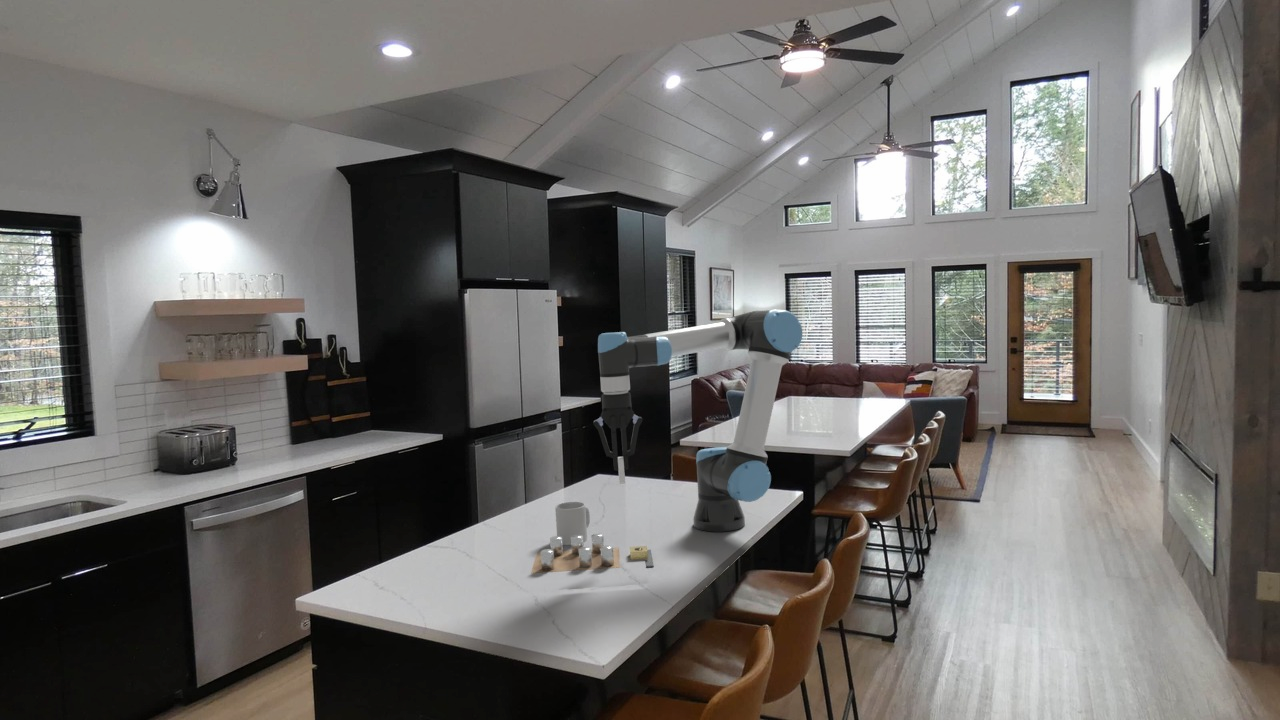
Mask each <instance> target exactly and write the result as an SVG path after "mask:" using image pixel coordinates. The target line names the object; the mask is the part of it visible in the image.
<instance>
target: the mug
mask: <svg viewBox="0 0 1280 720" xmlns="http://www.w3.org/2000/svg"><path fill="white" fill-rule="evenodd" d="M590 521H591V515H590V511H589V508H588V507H587V506H586V504H585V503H584V502H581V501H569V502H568V501H567V502H562V503H559V504H557V505H555V523H556V524H555V525H556V536H561V537H562V544H563V546H571V536H573V535H582V536H583V544H584V543H586V542H588V528H589V525H590Z"/></svg>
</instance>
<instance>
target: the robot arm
mask: <svg viewBox="0 0 1280 720" xmlns="http://www.w3.org/2000/svg"><path fill="white" fill-rule="evenodd" d="M801 324H802V323H801V322H800V321H799V318H798V317H797V316H796V315H795V314H794V313H792V311H789V310H785V309H777V308H776V309H774V308H773V309H772V310H771V309H770V310H768V309H767V310H753V311H748V312H746V313H745V312H744V313H742V314H737V315H735V316H729V317H724V318H721V319H720V321H719V322H713V323H708V324H702V325H701V324H700V325H696V326H688V327H684V328H683V327H682V328H678V329H671V330H670V329H669V330H665V331H658V332H653V333H652V332H651V333H646V334H639V335H638V334H637V335H633V336H627V333H626V332H625V331H619V332H618V331H617V332H616V331H615V332H605V333H603V332H602V333H601V334H599V335H598V338H597V353H598V363H599V374H600V375H599V376H600V377H599V378H600V392H602V394H601V405H602V406H601V410H602V411H601V413H600V416H599V418H597V419H595V420H593V426H594V427H595V428H596V430H597V431H598V434H599V437H600V440H601V444H602V447H603V450H604V453H605V456H606V457H609V458H611V459H612V462H613V470H614V471H616V472H617V471H618V482H619V483H618V484H619V485H621V484H626V475H625V471H628V470H629V468H630V467H629V457H630V456H633V455H635V453H636V452H635V451H636V446H637V440H638V435H639V434H638V433H639V429H640V426H641V425H642V422H643V418H642V416H638V415H636V414H635V412H634V410H633V408H632V395H631V392H629V391H631V382H630V369H631V368H638V367H639V368H641V367H651V366H657V367H659V366H661V365H662V366H663V365H667V364H668V363H670V361H671V359H672V357H678V356H679V357H680V356H683V355H689V354H691V355H692V354H696V353H697V354H698V353H701V352H709V351H713V350H720V349H724V350H725V351H733V350H747V351H748V352H747V353H748V355H749V357H750V358H751V362H750V366H749V372H748V376H747V381H746V385H745V389H744V394H743V398H742V403H741V407H740V412H739V416H738V421H737V425H736V430H735V434H734V439H733V442H732V443H731V444H729V445H728V446H717V447H708V448H704V449H700V450H698V451H697V453H696V456H695V457H696V458H695V459H696V462H695V464H696V475H697V476H696V477H697V479H696V480H697V494H698V495H697V496H698V497H697V499H698V500H697V504H696V508H695V512H694V514H693V519H692V520H693V527H694V528H696V529H697V530H700V531H706V532H715V533H716V532H720V533H722V532H730V531H735V530H739V529H741V528H744V526H745V525H746V524H745V523H746V520H745V519H746V518H745V515H744V512H743V509H742V507H741V504H740V502H744V503H745V502H746V503H751V502H752V503H753V502H755V501H758V500H759V499H761V498H762V497H764V496H765V495H766V493H767V492H768V490H769V488H770V486H771V483H772V482H771V481H772V475H771V472H770V471H769V470H770V469H769V467H768V465H767V461H768V454H767V452H766V451H765V446H766V445H765V444H766V440H767V437H768V432H769V428H770V423H771V419H772V418H771V417H772V413H773V409H774V405H775V404H774V403H775V399H776V396H777V391H778V386H779V382H780V378H781V377H780V376H781V372H782V368H783V366H784V365H785V364H786V363H789V360H790V357H791V353H792V352H793V351H795V350H796V348H797V349H798V347H799V346H800V345H801V342H802V341H803V340H802V339H803V328H802V325H801ZM632 419H633V420H632ZM631 420H632V423H633V429H632V435H631V441H630V446H629V449H628V441H627V438H628V437H627V427H628V425H629V424H630V422H631ZM603 421H604V422H603ZM604 423H605V424H606V425H607V426H608V428H610V430H611V431H610V433H611V445H612V446H611V447H612V451H611V450H610V447H609V445H608V443H609V442H608V441H607V436H606V435H605V431H604V428H603V426H604ZM617 429H620V433H621V434H620V436H621V447H622V456H618V441H617V439H618V438H617ZM739 501H740V502H739Z"/></svg>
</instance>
